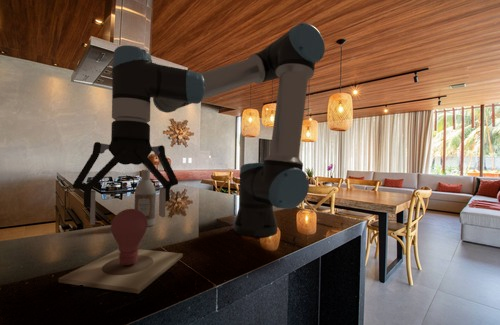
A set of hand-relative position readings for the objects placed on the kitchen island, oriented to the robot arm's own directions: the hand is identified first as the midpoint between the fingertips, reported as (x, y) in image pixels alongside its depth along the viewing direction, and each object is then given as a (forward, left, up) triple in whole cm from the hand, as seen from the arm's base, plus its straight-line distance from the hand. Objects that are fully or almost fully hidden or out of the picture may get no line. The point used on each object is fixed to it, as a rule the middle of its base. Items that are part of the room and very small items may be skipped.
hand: (129, 219), depth 53 cm
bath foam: (+18, -32, -11) cm, 38 cm away
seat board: (0, 0, -11) cm, 11 cm away
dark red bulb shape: (0, 0, -10) cm, 10 cm away
